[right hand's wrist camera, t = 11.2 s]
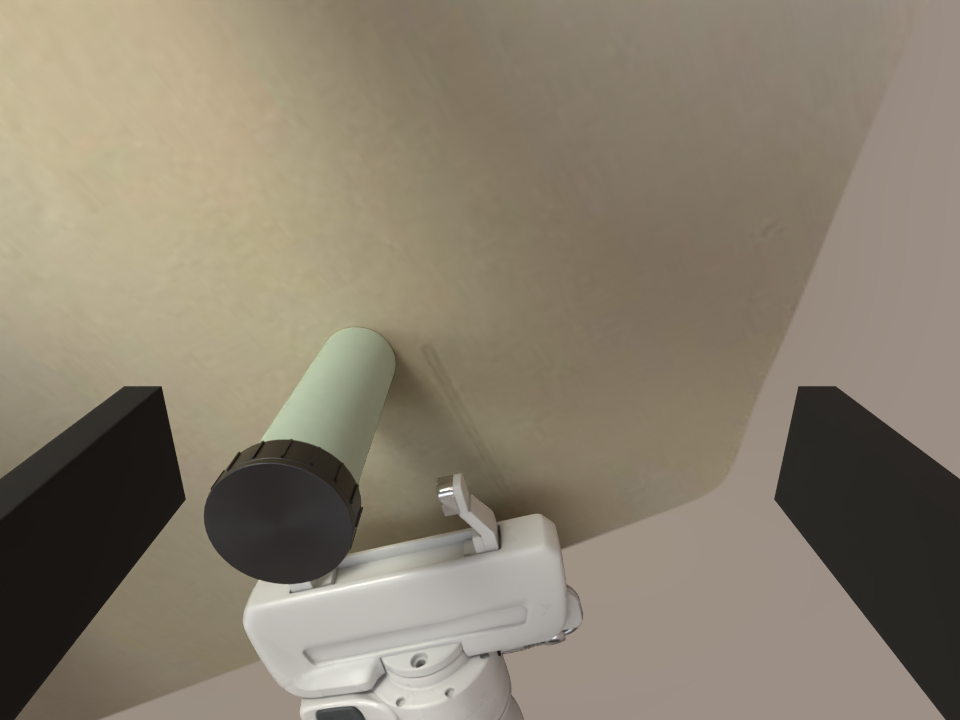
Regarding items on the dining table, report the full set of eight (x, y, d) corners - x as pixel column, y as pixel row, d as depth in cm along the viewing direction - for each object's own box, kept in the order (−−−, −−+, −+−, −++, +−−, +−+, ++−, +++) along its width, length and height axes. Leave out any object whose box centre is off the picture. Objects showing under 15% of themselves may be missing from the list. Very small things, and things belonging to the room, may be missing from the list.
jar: (390, 324, 38) (331, 463, 23) (400, 392, 40) (351, 563, 25) (315, 329, 38) (207, 471, 23) (328, 397, 40) (236, 571, 25)
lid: (350, 433, 24) (340, 457, 22) (371, 551, 26) (364, 581, 24) (205, 443, 24) (185, 467, 22) (238, 559, 26) (222, 589, 25)
